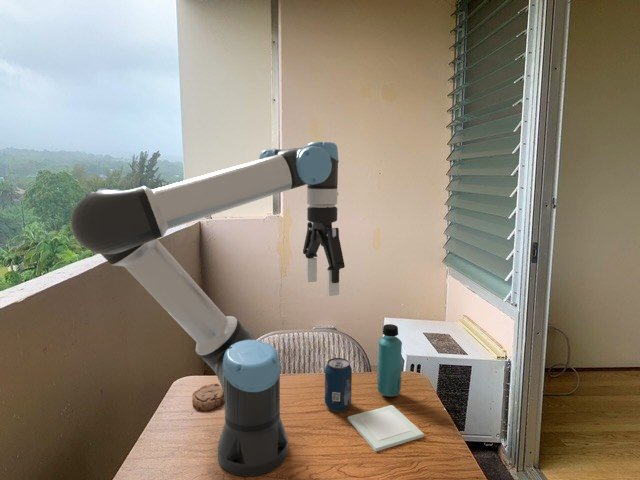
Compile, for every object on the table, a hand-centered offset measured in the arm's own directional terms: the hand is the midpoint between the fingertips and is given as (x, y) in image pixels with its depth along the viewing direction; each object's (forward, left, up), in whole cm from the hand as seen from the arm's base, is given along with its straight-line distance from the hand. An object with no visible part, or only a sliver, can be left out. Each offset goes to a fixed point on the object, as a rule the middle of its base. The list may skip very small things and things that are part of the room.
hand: (321, 288), depth 107 cm
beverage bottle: (+18, -6, -31) cm, 36 cm away
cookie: (-27, +11, -31) cm, 43 cm away
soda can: (+3, -5, -31) cm, 31 cm away
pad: (+9, -18, -31) cm, 37 cm away
